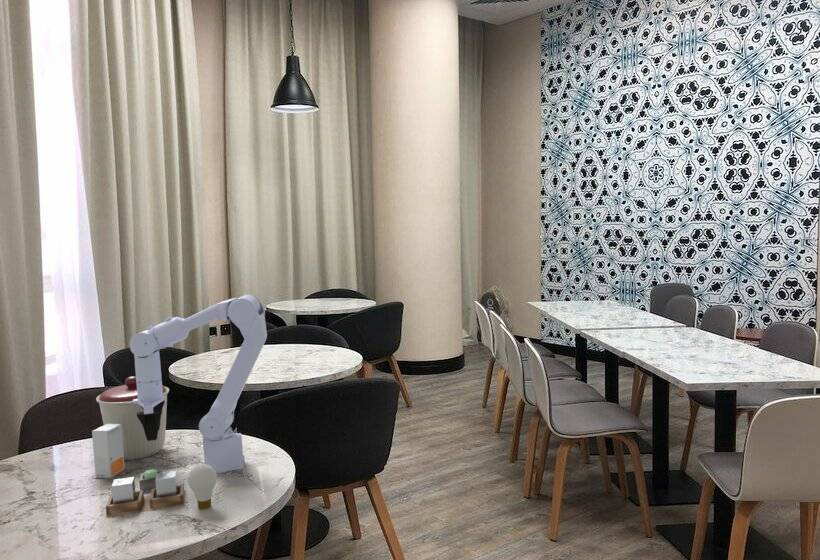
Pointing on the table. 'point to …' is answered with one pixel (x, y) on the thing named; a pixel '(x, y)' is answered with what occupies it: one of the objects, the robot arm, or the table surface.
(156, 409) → the robot arm
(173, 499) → the wooden divided tray
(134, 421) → the canister
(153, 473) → the button
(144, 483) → the button housing
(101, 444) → the skincare box
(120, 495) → the billet
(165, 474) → the seated billet
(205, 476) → the light bulb
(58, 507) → the table surface
